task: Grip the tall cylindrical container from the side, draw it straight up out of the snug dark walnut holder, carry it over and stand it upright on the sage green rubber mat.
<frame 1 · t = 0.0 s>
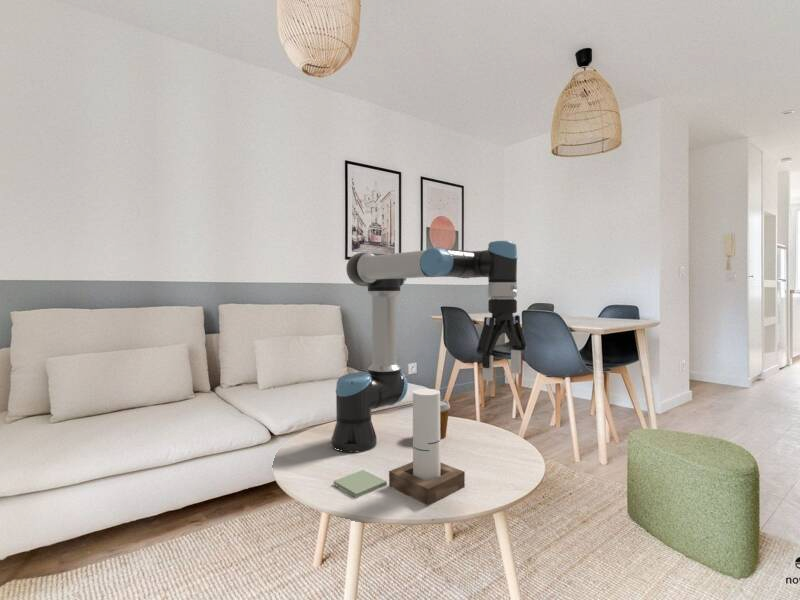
hand: (502, 376, 114), 28 cm above the table, tool pointing down, fingers open, 13 cm apart
green mat: (360, 484, 112), on the table
cylindrical container: (426, 487, 110), resting in walnut holder
disposable coffee cup: (436, 436, 149), on the table
walnut holder: (426, 486, 110), on the table
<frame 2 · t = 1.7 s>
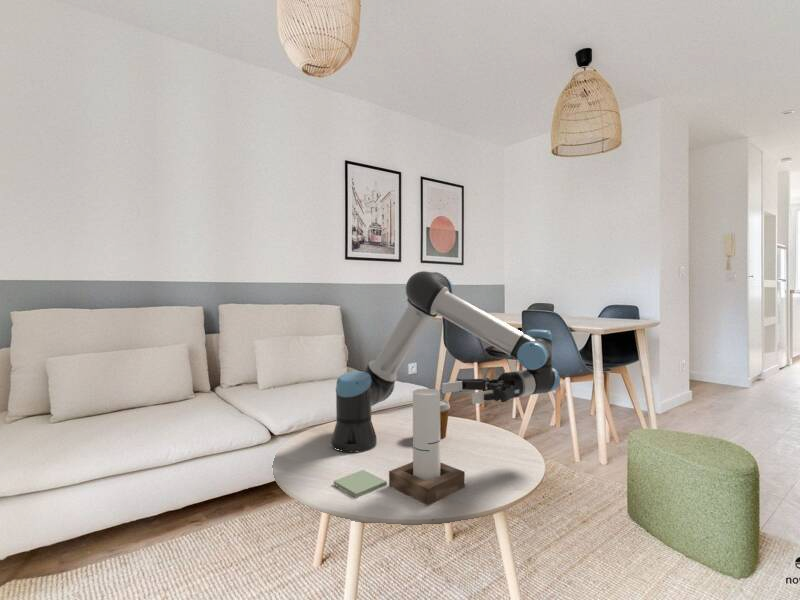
hand: (456, 393, 115), 24 cm above the table, tool horizontal, fingers open, 13 cm apart
nothing on the table moved.
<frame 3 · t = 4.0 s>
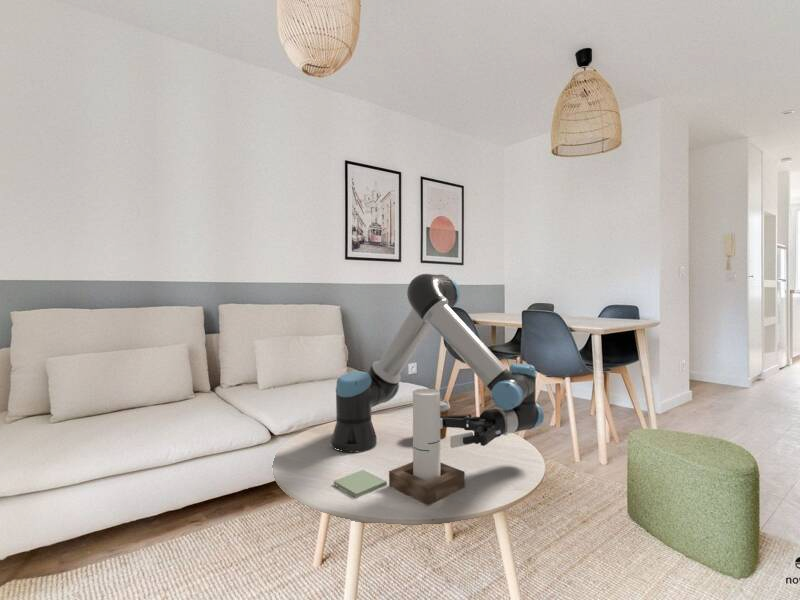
hand: (436, 434, 111), 14 cm above the table, tool horizontal, fingers open, 13 cm apart
nothing on the table moved.
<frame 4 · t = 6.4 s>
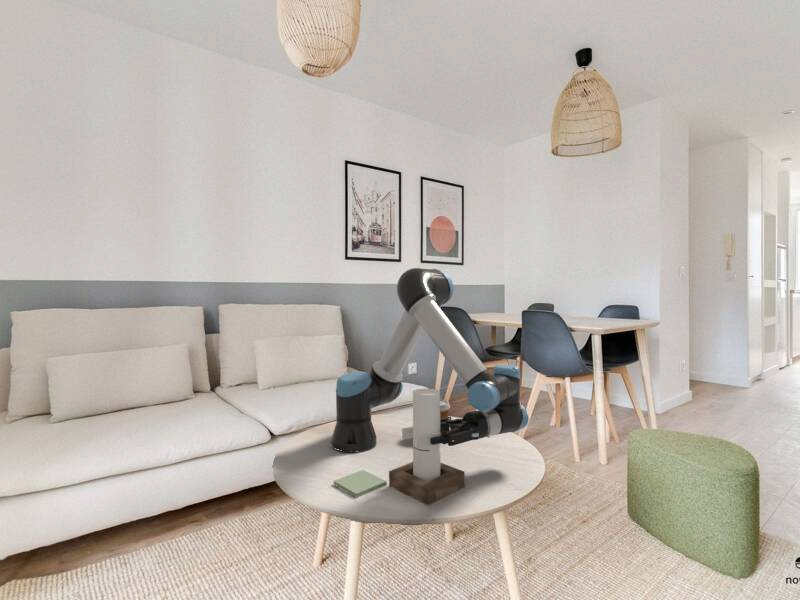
hand: (410, 437, 108), 14 cm above the table, tool horizontal, fingers closed on cylindrical container, 7 cm apart
cylindrical container: (426, 487, 110), resting in walnut holder, touching gripper
everything else where it was.
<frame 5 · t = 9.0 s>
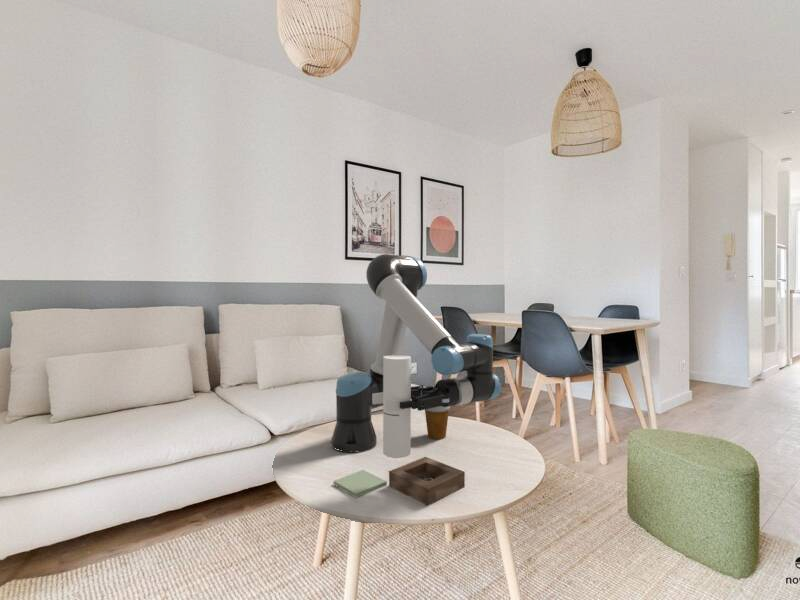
hand: (379, 402, 107), 23 cm above the table, tool horizontal, fingers closed on cylindrical container, 7 cm apart
cylindrical container: (396, 453, 110), point 9 cm above the table, touching gripper
everything else where it was.
when the fingers open (16 cm above the table, at t = 11.6 s): cylindrical container drops 1 cm, resting on green mat.
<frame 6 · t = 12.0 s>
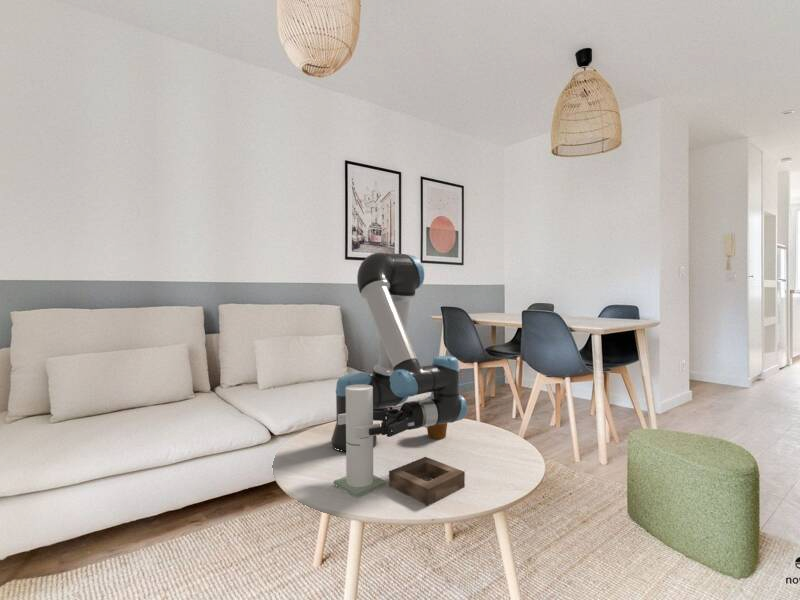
hand: (346, 426, 110), 16 cm above the table, tool horizontal, fingers open, 12 cm apart
cylindrical container: (360, 481, 112), point 1 cm above the table, touching green mat
everything else where it was.
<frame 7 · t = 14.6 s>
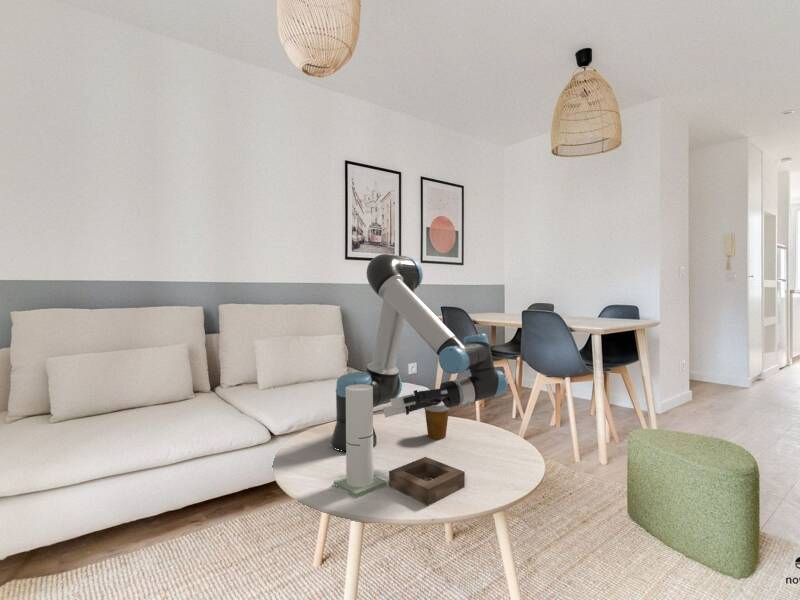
hand: (387, 408, 119), 18 cm above the table, tool horizontal, fingers open, 13 cm apart
nothing on the table moved.
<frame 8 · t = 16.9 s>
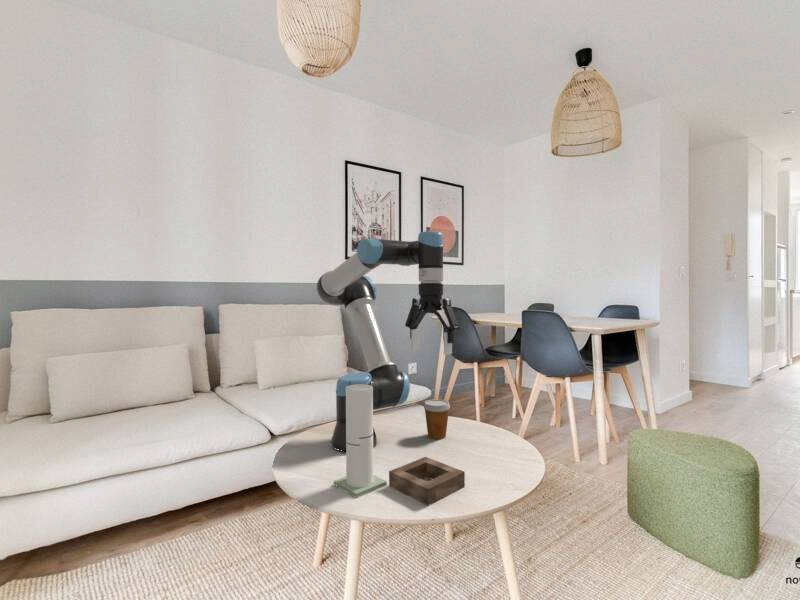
hand: (431, 352, 129), 33 cm above the table, tool pointing down, fingers open, 13 cm apart
nothing on the table moved.
at the end: cylindrical container inside the target area (0.0 cm from its centre), point 0.8 cm above the table; cylindrical container tilted 0°; the gripper is holding nothing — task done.
